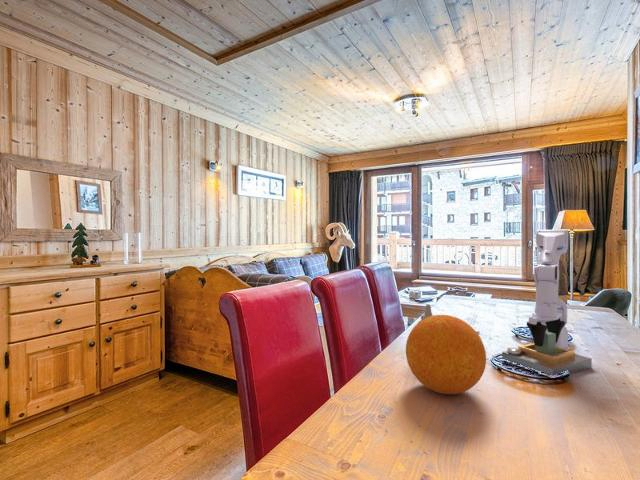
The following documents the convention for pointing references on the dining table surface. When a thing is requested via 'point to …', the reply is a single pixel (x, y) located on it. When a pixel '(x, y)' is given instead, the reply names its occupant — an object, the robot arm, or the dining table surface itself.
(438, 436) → the dining table surface
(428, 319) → the decorative sphere
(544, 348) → the spout tin
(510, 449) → the dining table surface
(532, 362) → the grey framed base plate
